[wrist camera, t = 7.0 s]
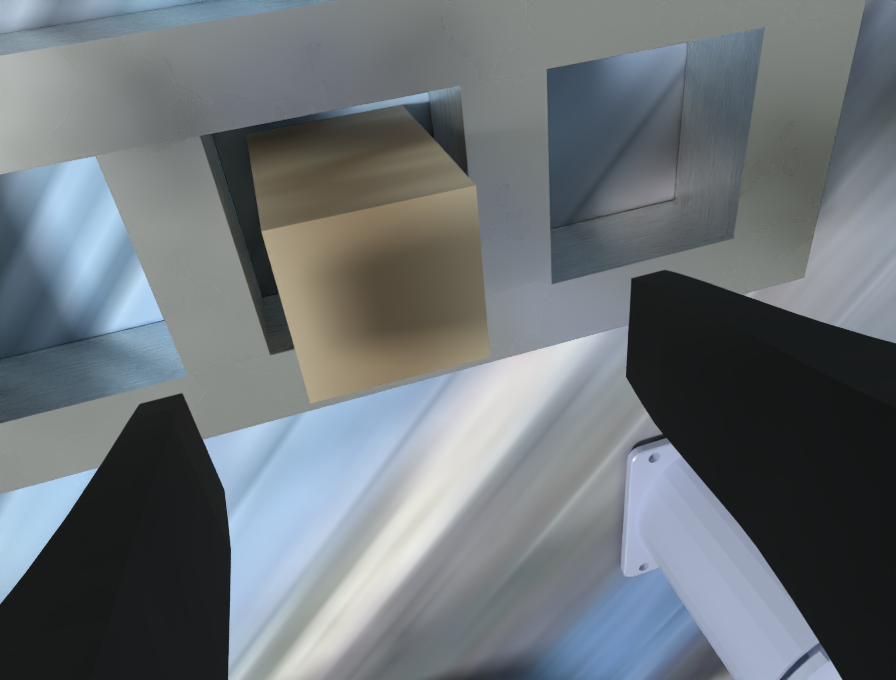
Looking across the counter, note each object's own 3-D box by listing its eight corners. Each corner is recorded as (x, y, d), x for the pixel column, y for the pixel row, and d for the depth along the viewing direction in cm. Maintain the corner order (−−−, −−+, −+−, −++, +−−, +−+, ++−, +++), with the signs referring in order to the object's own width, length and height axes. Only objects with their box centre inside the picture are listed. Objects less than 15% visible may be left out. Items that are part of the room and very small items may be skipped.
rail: (793, -92, 18) (885, -90, 15) (741, 237, 23) (804, 277, 21) (-372, 93, 13) (-503, 138, 11) (-95, 448, 18) (-140, 531, 16)
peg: (402, 104, 17) (476, 185, 13) (421, 243, 20) (490, 356, 15) (246, 133, 17) (261, 231, 12) (284, 274, 19) (310, 403, 14)
